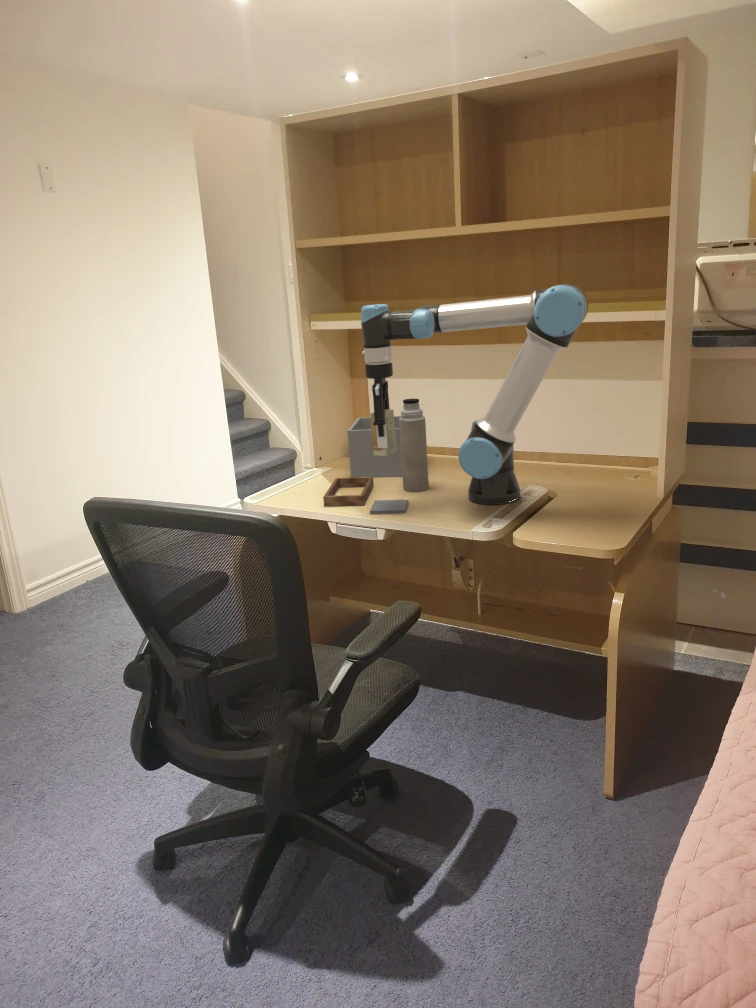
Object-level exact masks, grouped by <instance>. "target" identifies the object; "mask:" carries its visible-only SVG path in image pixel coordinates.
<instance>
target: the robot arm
mask: <svg viewBox="0 0 756 1008" xmlns="http://www.w3.org/2000/svg"><path fill="white" fill-rule="evenodd" d="M588 311H589V299H588V297H587V295H586V293H585V292H584V290H582V288H580V287H579V286H577V285H575V284H571V283H563V284H562V283H561V284H558V285H557V284H556V285H553V286H551V287H549V288H544V289H538V290H537V289H536V290H534V291H533V292H532V293H531V294H527V295H518V296H517V295H516V296H508V297H500V298H491V299H482V300H481V299H480V300H472V301H463V302H462V301H461V302H455V303H445V304H439V305H438V304H437V305H421V306H419V307H417V308H413V309H407V310H395V311H394V310H393V311H392V310H390V309H389V305H388V304H386V303H379V304H378V303H377V304H366V305H363V306H362V307H361V310H360V315H361V316H360V319H361V320H360V325H361V335H362V342H363V344H362V345H363V351H362V352H361V355H363V357H364V362H365V363H366V364H365V365H364V370H365V377H366V379H368V380H369V379H371V380H372V379H373V384H372V385H371V390H372V391H371V392H372V397H373V398H372V399H373V412H374V419H375V421H374V423H373V425H376V431H377V444H378V448H388V443H387V430H386V424H385V409H390V408H391V407H390V397H389V381H388V380H386V378H391V377H393V375H394V370H393V363H392V362H391V361H392V360H393V354H392V351H393V350H392V343H391V341H395V340H416V339H417V340H422V339H429V338H432V337H433V335H434V334H439V333H448V332H450V333H451V332H460V331H461V332H462V331H469V330H472V331H473V330H479V329H480V330H481V329H490V328H491V329H492V328H501V327H502V328H503V327H513V326H522V325H523V326H524V325H525V331H526V334H527V337H526V339H525V340H524V343H523V344H522V346H521V348H520V350H519V353H518V354H517V356H516V358H515V360H514V361H513V363H512V365H511V368H510V369H509V371H508V373H507V375H506V376H505V378H504V381H503V382H502V384H501V386H500V388H499V389H498V392H497V394H496V396H495V397H494V399H493V401H492V403H491V405H490V407H489V408H488V411H487V413H486V414H485V416H484V417H481V418H478V419H475V420H473V421H472V424H471V427H470V430H471V431H470V433H469V434H468V436H467V438H466V440H464V442H463V443H462V444H461V446H460V448H459V451H458V462H459V465H460V467H461V469H462V470H463V472H464V473H466V474H467V475H468V476H470V477H471V480H470V483H469V485H468V490H467V491H468V492H467V493H468V494H467V495H468V496H467V498H468V500H469V501H471V502H473V503H476V504H480V505H504V504H505V505H506V504H509V503H508V502H509V501H512V500H514V499H517V498H519V497H520V498H521V487H520V484H519V481H518V479H517V477H516V473H515V461H514V459H515V455H514V444H515V442H516V440H517V439H516V436H515V430H516V428H517V427H518V425H519V423H520V422H521V420H522V418H523V415H525V413H526V410H527V408H528V407H529V405H530V403H531V402H532V399H533V398H534V396H535V395H536V393H537V390H538V388H539V386H540V385H541V383H542V381H543V380H544V378H545V376H546V374H547V372H548V371H549V369H550V367H551V365H552V364H553V362H554V360H555V358H556V356H557V354H558V353H559V352H560V351H562V350H566V349H567V348H569V347H568V346H569V345H570V343H571V341H572V339H573V338H574V336H575V334H576V333H577V331H578V329H579V327H580V325H581V324H582V323H583V321H584V320H585V319H586V316H588V315H587V314H588ZM378 419H381V420H378ZM520 498H519V499H520Z"/></svg>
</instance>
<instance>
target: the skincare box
mask: <svg viewBox="0 0 756 1008" xmlns="http://www.w3.org/2000/svg"><path fill="white" fill-rule="evenodd" d="M394 416H395V413H394V409H393V408H392V409H385V424H386V430H387V443H388V448H378V444H377V431H376V425H373V423H374V421H375V419H374V411H373V412H370V416H369V417H371V428H372V440H373V452H374V455H376V456H388V455H390V454H392V453H394V452H396V451H397V447H396V435H395V422H394ZM378 420H381V419H378Z"/></svg>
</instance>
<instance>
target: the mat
mask: <svg viewBox="0 0 756 1008" xmlns="http://www.w3.org/2000/svg"><path fill="white" fill-rule="evenodd" d="M408 505H409V499H385V500H384V499H383V500H380V499H379V500H378V499H377V500H376V499H375V500H374V501H373V503H372V505H371V508H370V510H369V514H370V515H388V514H389V515H391V514H393V515H395V514H400V515H401V514H406V512H407V509H408Z"/></svg>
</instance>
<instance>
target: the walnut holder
mask: <svg viewBox="0 0 756 1008" xmlns="http://www.w3.org/2000/svg"><path fill="white" fill-rule="evenodd" d="M373 487H374V477H351V476H350V477H335V479H334V481H333V482H331V484H330V486H329V488H328V489H327V490H326V492H325V494H324V496H322V497H323V506H328V507H356V506H357V507H358V506H361V507H362V506H365V505H366V502H367V500H368V498H369V496H370V494H371V492H372V490H373ZM340 488H363V489H362V492H361V493H360V494H351V495H350V494H349V495H348V494H347V495H346V494H344V495H343V494H341V495H336V494H337V492H338V491H339V489H340Z"/></svg>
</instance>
